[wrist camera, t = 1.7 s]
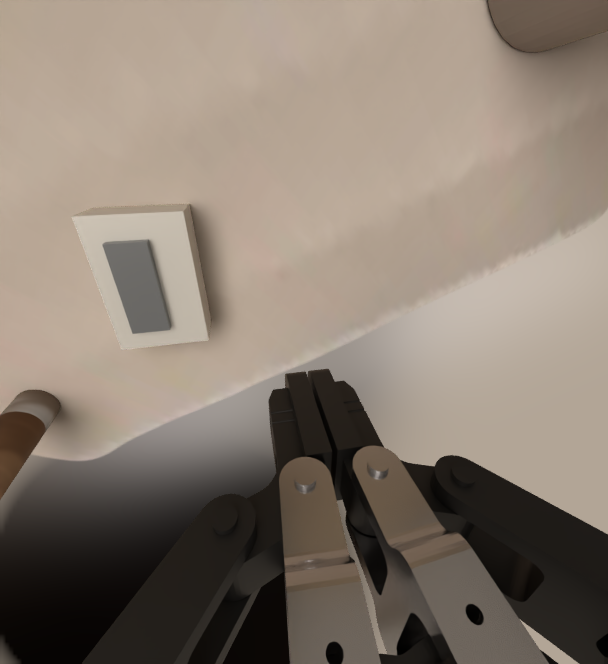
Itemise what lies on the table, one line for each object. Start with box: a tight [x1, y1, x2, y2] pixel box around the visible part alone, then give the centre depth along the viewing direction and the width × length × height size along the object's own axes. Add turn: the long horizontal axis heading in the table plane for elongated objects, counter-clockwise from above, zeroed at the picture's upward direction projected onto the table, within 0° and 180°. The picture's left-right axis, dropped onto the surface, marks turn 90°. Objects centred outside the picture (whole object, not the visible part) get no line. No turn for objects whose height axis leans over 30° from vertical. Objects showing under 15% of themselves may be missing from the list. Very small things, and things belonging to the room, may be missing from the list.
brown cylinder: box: [0, 390, 60, 499], centre depth 23 cm, size 3×3×9 cm
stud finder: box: [72, 204, 211, 350], centre depth 21 cm, size 6×9×4 cm, turn 1°
